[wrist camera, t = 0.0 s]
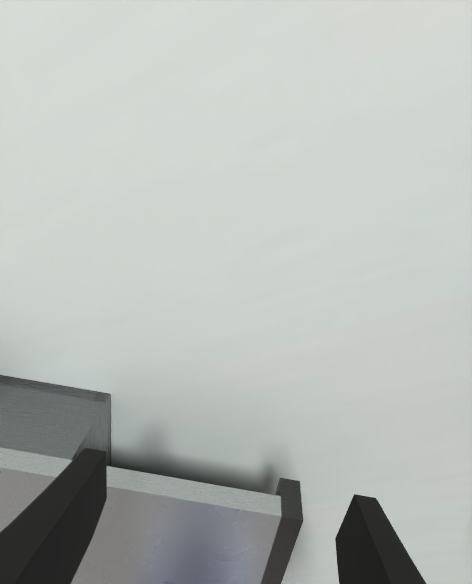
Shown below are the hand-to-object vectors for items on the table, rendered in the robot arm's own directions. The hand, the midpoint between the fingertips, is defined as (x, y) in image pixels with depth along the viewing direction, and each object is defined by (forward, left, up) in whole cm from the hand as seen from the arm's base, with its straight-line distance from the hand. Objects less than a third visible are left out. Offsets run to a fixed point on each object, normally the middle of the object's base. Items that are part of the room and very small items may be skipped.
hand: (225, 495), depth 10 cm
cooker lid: (-14, +5, -6) cm, 16 cm away
